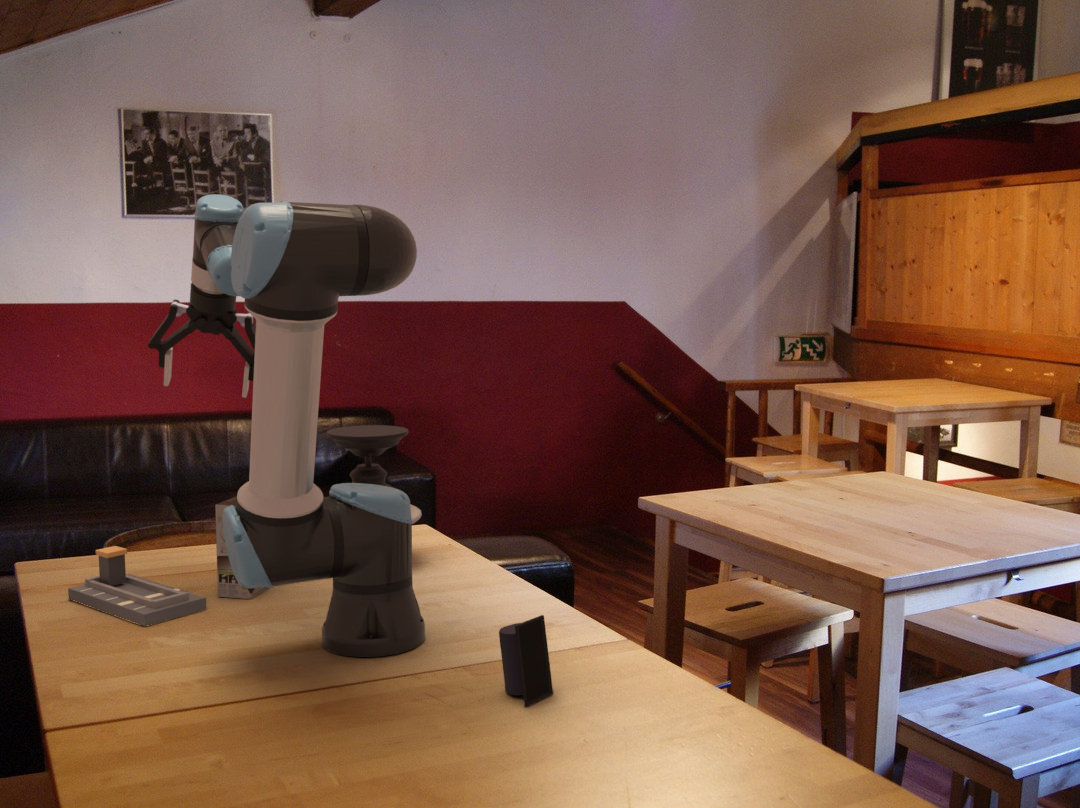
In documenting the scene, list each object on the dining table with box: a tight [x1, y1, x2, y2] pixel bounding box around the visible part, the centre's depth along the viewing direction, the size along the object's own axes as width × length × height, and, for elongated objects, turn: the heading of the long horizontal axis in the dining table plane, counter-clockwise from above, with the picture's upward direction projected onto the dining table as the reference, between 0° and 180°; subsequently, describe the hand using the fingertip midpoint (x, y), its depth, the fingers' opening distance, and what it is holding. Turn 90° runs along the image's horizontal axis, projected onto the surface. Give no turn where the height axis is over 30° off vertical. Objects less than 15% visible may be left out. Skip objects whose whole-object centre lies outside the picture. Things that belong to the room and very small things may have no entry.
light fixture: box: [326, 424, 423, 525], centre depth 196 cm, size 20×20×25 cm
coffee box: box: [214, 495, 270, 600], centre depth 179 cm, size 9×6×16 cm
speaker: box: [498, 614, 554, 708], centre depth 135 cm, size 8×6×10 cm
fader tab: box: [95, 545, 128, 586], centre depth 176 cm, size 4×4×6 cm
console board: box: [67, 573, 208, 627], centre depth 172 cm, size 23×11×3 cm, turn 52°
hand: (206, 387), depth 188 cm, fingers open, 13 cm apart
